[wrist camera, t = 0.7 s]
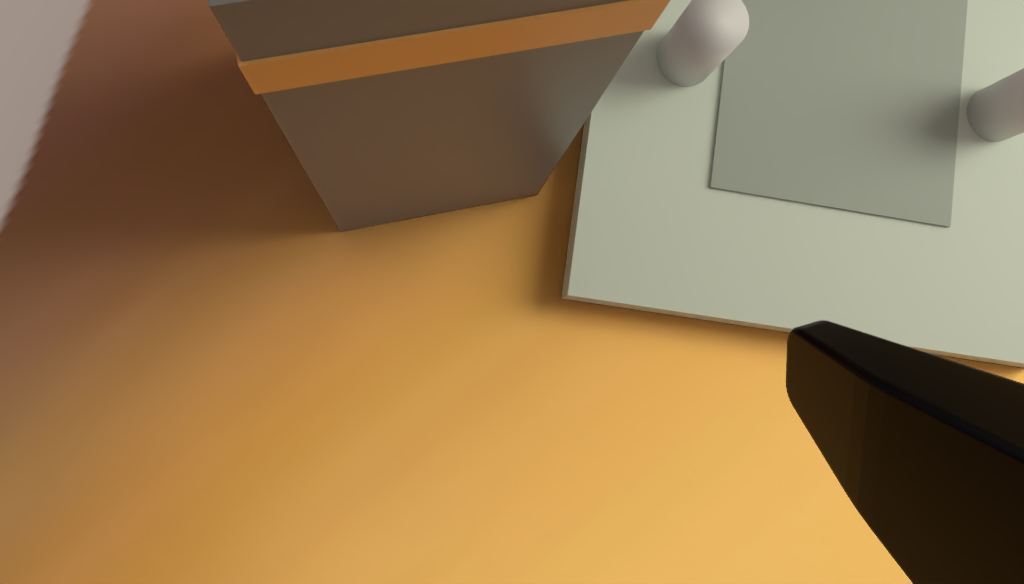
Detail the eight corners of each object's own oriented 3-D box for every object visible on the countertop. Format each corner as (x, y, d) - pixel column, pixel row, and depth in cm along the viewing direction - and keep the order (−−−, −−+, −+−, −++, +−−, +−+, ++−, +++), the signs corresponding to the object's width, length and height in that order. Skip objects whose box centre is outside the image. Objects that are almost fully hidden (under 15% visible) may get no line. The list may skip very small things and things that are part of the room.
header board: (1028, 368, 23) (1133, 368, 20) (561, 298, 22) (587, 285, 19) (1056, -77, 25) (1158, -149, 22) (622, -168, 24) (656, -260, 20)
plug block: (539, 196, 22) (713, -65, 9) (338, 233, 22) (205, 11, 8) (497, 6, 23) (606, -513, 9) (299, 36, 22) (113, -479, 9)
